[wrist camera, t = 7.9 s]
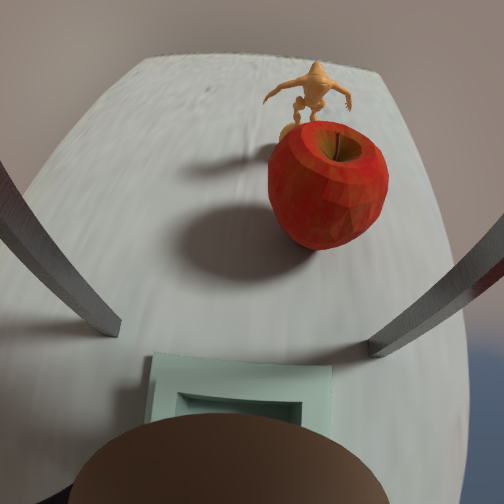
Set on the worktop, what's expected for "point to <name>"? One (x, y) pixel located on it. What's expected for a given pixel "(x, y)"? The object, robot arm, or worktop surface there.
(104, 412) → the worktop surface
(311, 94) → the figurine
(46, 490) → the worktop surface
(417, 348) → the worktop surface
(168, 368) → the socket block
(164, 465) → the peg
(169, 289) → the worktop surface
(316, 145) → the apple
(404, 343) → the grey table frame
